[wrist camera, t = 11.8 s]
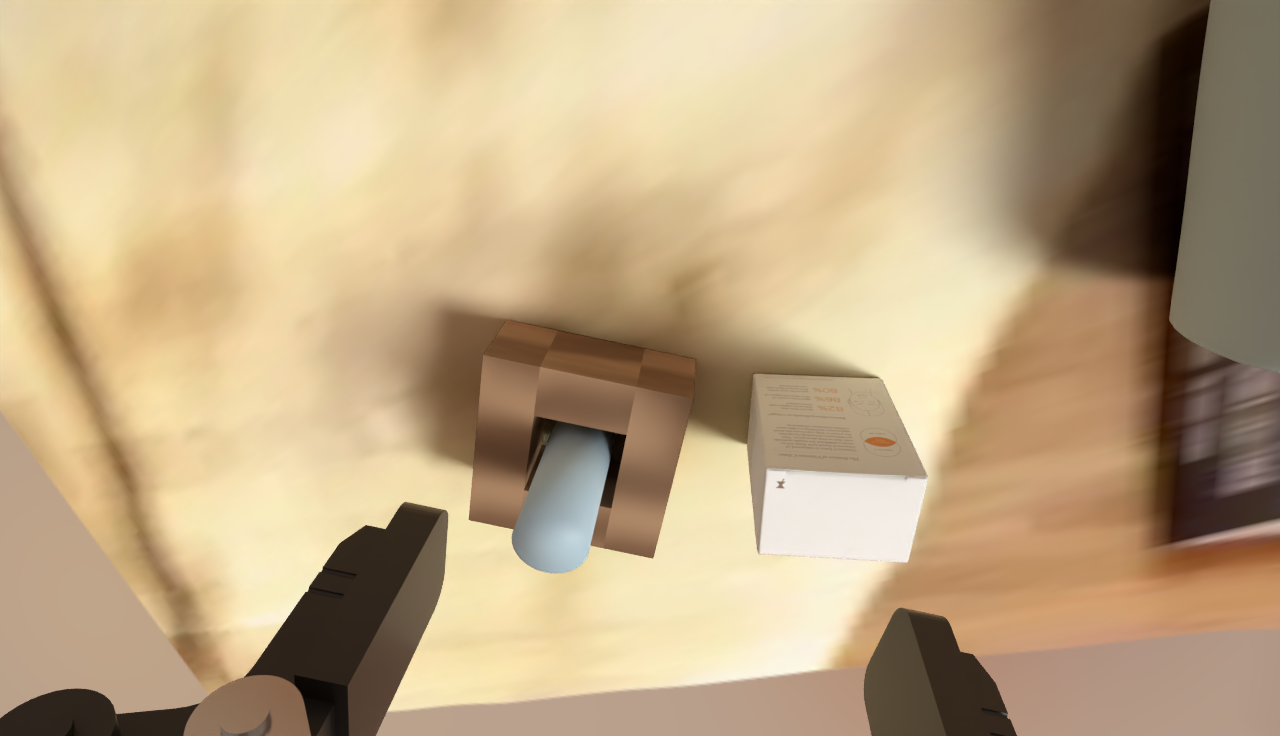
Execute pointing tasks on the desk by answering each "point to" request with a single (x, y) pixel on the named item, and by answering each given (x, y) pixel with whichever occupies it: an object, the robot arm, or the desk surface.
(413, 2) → the desk surface
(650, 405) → the socket block
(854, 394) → the small box
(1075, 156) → the desk surface
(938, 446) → the desk surface
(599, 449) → the peg
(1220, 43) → the pencil case
